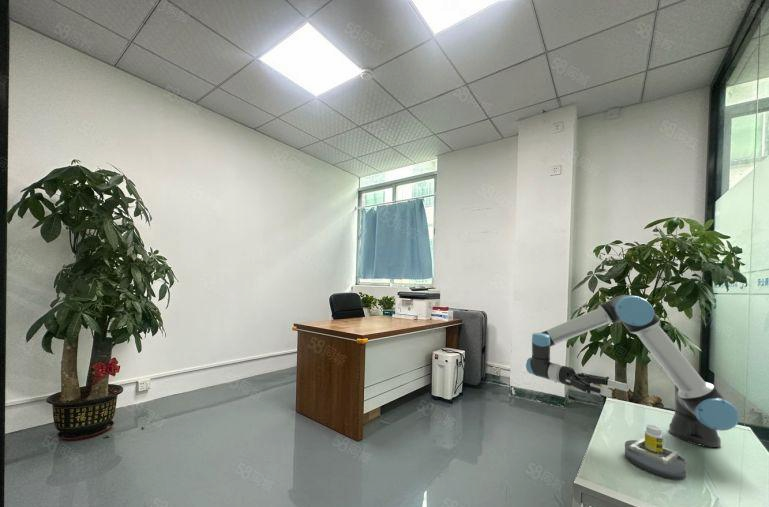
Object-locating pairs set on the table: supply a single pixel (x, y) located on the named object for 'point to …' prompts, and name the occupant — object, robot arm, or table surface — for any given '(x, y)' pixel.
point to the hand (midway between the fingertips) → (619, 390)
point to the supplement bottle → (653, 440)
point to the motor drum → (655, 461)
